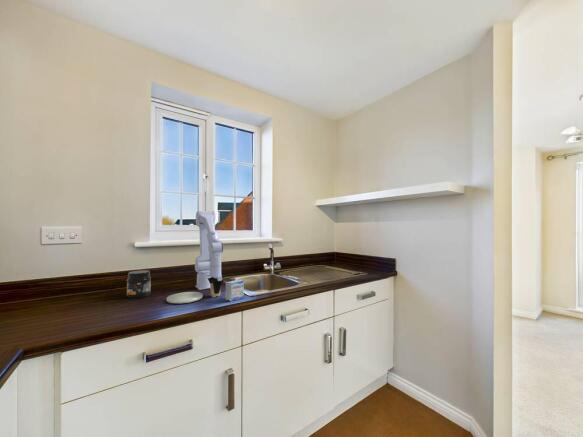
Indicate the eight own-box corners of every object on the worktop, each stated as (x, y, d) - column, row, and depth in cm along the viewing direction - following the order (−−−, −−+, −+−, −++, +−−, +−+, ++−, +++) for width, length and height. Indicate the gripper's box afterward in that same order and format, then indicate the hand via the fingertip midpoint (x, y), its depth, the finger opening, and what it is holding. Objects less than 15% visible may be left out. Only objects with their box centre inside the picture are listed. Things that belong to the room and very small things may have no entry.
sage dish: (164, 298, 120) (164, 295, 120) (198, 293, 130) (198, 290, 130) (169, 307, 107) (169, 303, 107) (206, 300, 116) (206, 297, 116)
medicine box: (231, 302, 115) (231, 283, 115) (225, 300, 117) (225, 282, 118) (244, 298, 121) (244, 280, 121) (238, 296, 124) (238, 279, 124)
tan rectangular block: (210, 295, 125) (210, 283, 125) (217, 294, 127) (218, 282, 128) (212, 297, 122) (212, 285, 122) (220, 296, 124) (220, 284, 124)
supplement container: (122, 296, 123) (122, 272, 124) (143, 291, 133) (143, 269, 133) (134, 299, 118) (134, 274, 119) (155, 294, 128) (155, 271, 128)
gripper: (203, 264, 129) (203, 290, 128) (211, 268, 117) (211, 297, 117) (216, 263, 133) (216, 288, 132) (226, 267, 121) (226, 294, 121)
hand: (215, 292), depth 125 cm, fingers closed on tan rectangular block, 4 cm apart
